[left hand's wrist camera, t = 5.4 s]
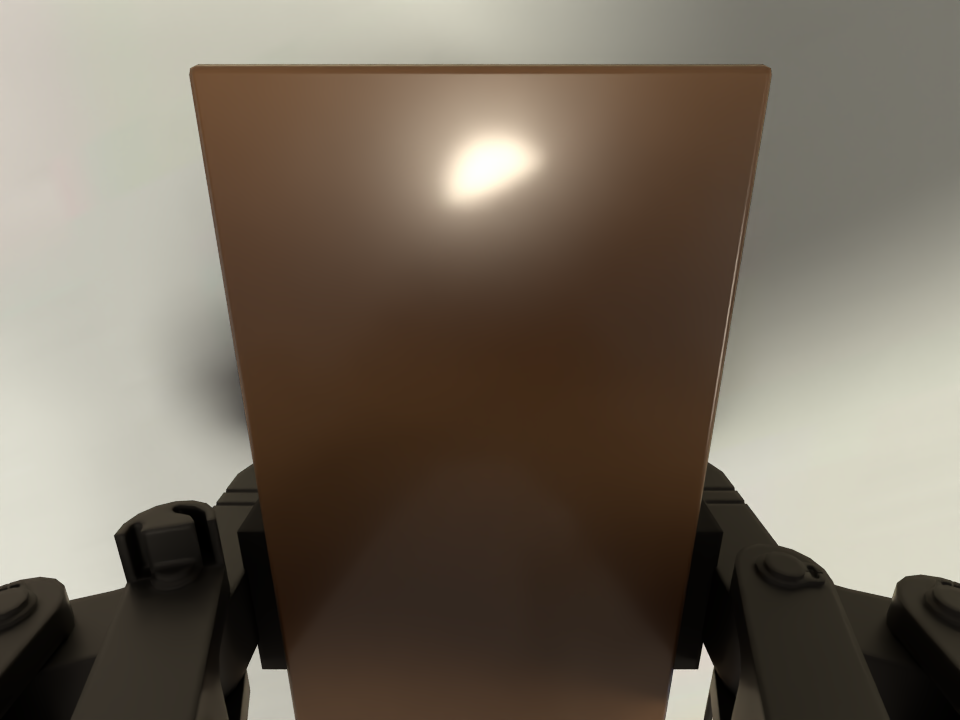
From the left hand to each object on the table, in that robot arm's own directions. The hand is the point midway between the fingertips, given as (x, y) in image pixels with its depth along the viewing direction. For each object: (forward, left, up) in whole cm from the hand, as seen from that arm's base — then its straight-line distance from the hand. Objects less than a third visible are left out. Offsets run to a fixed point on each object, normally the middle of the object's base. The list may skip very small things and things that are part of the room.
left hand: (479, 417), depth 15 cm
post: (+27, +20, -1) cm, 33 cm away
